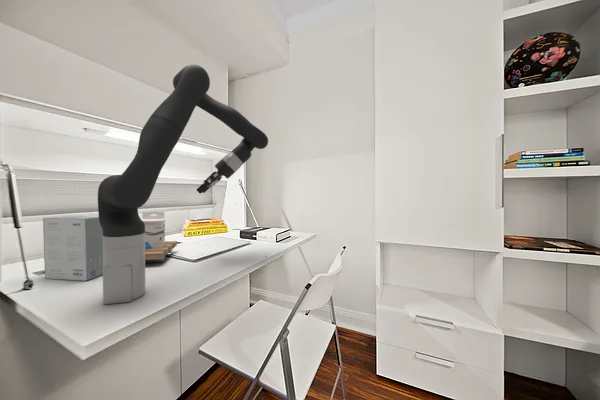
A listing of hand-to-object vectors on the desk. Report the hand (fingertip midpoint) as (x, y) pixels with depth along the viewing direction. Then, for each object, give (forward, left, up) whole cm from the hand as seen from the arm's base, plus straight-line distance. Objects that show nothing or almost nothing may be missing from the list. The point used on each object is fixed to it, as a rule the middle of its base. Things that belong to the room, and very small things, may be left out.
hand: (200, 191), depth 96 cm
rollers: (+6, +20, -29) cm, 35 cm away
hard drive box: (-10, +37, -29) cm, 48 cm away
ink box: (+6, +19, -24) cm, 31 cm away
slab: (+6, +20, -26) cm, 33 cm away
